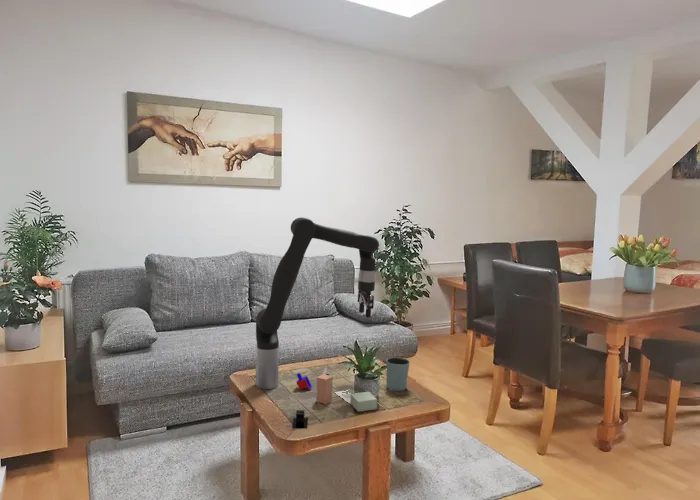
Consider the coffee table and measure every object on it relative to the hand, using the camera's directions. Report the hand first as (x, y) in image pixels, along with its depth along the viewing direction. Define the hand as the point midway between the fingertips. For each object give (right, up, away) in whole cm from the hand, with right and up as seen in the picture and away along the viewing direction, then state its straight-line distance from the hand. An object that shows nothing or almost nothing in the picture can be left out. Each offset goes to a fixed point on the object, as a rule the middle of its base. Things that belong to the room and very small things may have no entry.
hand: (364, 314), depth 236 cm
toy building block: (-26, -30, -14) cm, 42 cm away
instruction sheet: (-6, -31, -21) cm, 38 cm away
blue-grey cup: (+14, -31, -10) cm, 35 cm away
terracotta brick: (-17, -32, -27) cm, 45 cm away
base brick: (-1, -32, -31) cm, 45 cm away
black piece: (-25, -34, -47) cm, 63 cm away
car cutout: (-19, -29, -3) cm, 35 cm away
